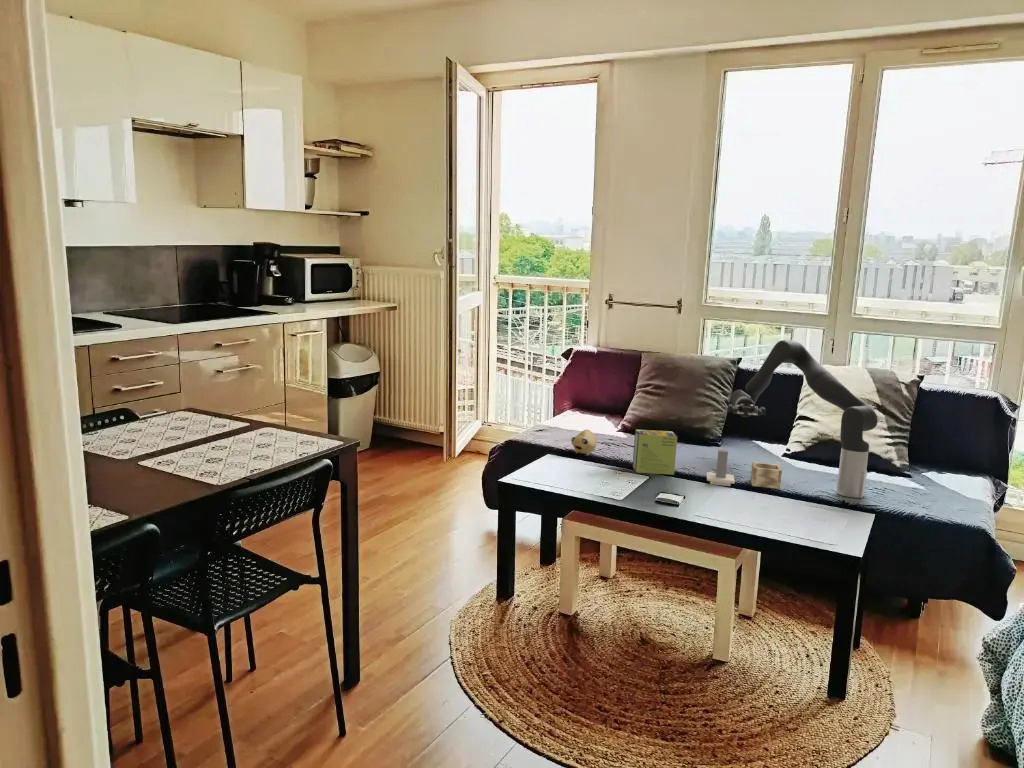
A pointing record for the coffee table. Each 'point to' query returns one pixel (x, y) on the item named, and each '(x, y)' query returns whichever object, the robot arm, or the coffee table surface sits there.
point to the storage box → (766, 475)
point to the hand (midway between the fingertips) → (747, 412)
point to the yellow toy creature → (584, 442)
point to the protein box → (654, 452)
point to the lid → (721, 471)
